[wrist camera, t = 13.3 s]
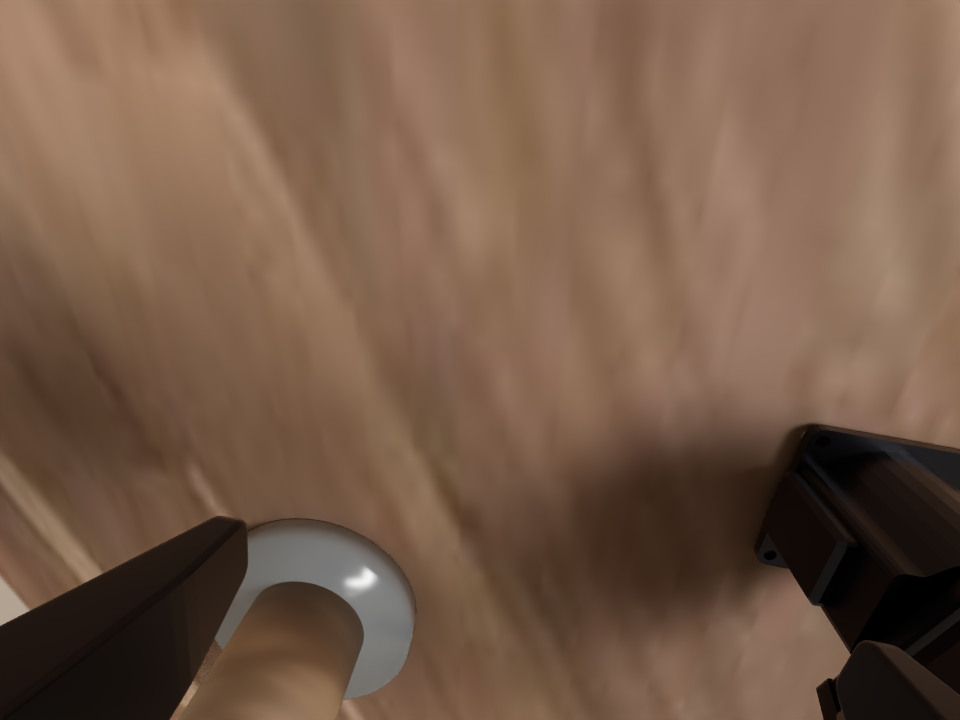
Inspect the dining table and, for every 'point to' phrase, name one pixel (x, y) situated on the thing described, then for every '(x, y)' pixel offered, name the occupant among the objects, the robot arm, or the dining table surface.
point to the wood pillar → (284, 659)
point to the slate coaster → (334, 589)
